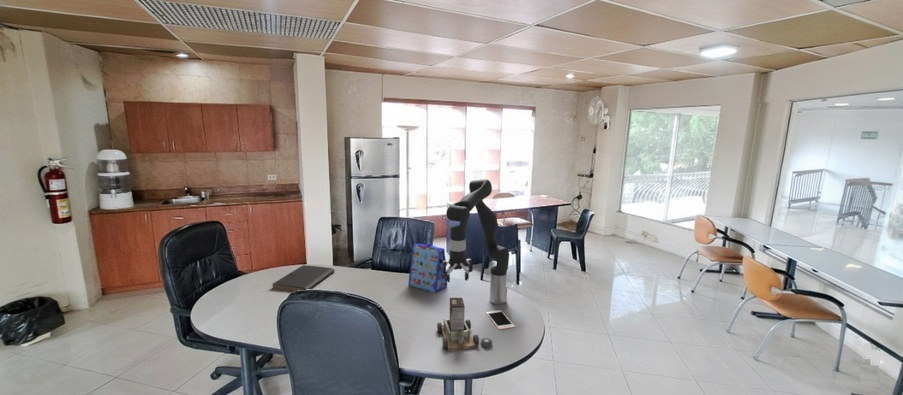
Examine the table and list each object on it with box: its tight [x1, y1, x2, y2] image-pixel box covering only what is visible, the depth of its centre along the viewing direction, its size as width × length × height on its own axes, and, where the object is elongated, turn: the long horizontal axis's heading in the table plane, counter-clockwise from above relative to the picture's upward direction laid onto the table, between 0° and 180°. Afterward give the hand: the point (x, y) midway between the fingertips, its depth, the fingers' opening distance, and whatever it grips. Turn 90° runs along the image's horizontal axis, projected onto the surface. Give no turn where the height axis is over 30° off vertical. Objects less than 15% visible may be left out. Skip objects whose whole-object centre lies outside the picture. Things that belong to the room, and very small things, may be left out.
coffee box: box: [449, 297, 466, 332], centre depth 177 cm, size 9×6×16 cm
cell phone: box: [485, 309, 516, 331], centre depth 194 cm, size 9×18×1 cm, turn 16°
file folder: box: [272, 264, 335, 292], centre depth 241 cm, size 33×4×24 cm
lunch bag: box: [408, 242, 448, 294], centre depth 232 cm, size 22×14×29 cm, turn 58°
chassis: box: [436, 318, 480, 352], centre depth 176 cm, size 16×20×6 cm
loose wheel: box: [480, 337, 493, 349], centre depth 171 cm, size 5×5×2 cm
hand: (457, 280), depth 174 cm, fingers open, 8 cm apart
